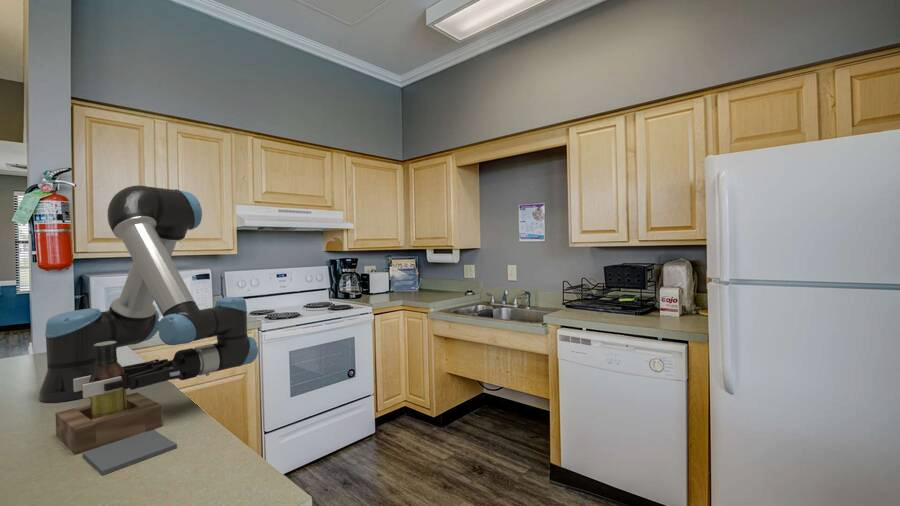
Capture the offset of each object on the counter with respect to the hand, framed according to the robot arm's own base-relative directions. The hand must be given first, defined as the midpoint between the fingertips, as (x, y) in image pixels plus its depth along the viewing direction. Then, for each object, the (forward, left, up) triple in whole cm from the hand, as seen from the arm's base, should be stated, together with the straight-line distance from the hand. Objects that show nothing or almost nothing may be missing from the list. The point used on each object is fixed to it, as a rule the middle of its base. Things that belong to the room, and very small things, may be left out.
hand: (78, 388), depth 88 cm
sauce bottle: (0, +5, -11) cm, 12 cm away
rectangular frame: (0, +5, -11) cm, 12 cm away
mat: (+16, +4, -11) cm, 20 cm away
